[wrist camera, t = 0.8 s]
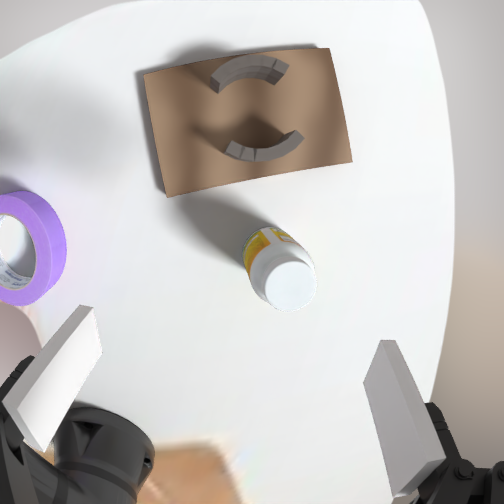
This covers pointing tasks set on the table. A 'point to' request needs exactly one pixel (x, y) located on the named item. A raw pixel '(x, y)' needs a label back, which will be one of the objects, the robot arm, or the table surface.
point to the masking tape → (45, 243)
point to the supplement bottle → (279, 269)
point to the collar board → (246, 118)
